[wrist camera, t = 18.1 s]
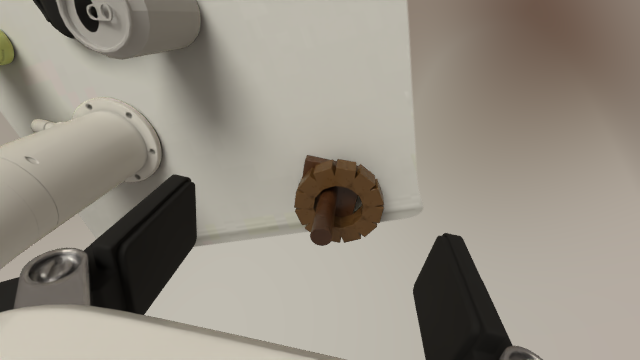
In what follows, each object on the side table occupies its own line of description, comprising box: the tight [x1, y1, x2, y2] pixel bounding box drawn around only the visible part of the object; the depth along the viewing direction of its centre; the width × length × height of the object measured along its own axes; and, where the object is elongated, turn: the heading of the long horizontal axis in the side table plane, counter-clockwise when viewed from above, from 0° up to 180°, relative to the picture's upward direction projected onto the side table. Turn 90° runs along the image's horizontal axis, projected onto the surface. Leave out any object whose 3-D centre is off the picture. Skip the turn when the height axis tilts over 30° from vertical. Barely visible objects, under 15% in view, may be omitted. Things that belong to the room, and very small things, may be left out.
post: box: [302, 155, 358, 246], centre depth 38 cm, size 8×8×12 cm
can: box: [56, 0, 201, 59], centre depth 29 cm, size 8×8×12 cm
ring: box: [294, 159, 384, 243], centre depth 41 cm, size 12×12×3 cm
